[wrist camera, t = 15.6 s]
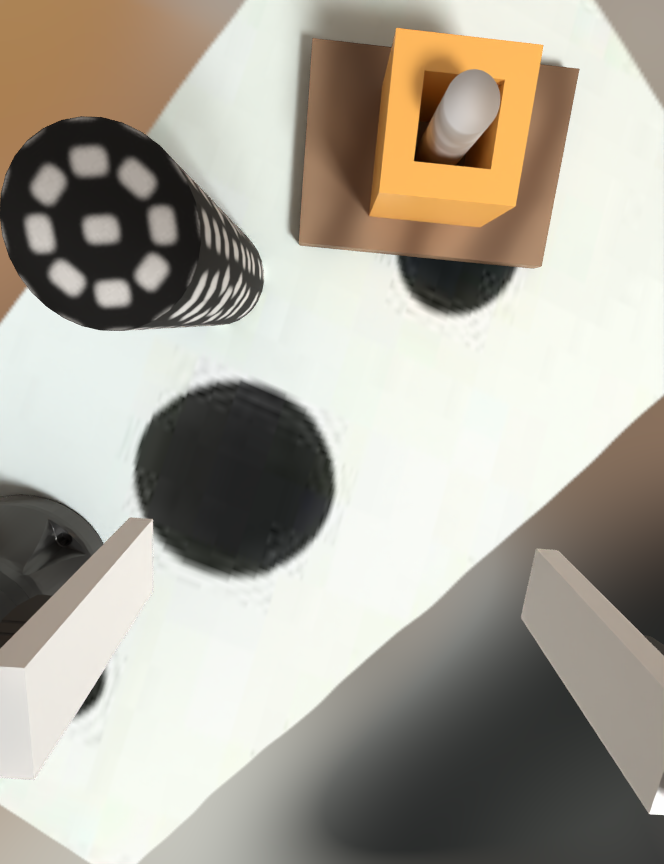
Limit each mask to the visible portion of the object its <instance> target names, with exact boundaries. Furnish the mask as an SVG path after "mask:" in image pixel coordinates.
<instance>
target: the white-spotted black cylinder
mask: <svg viewBox="0 0 664 864" xmlns="http://www.w3.org/2000/svg"><path fill="white" fill-rule="evenodd" d="M0 221H1V229H2V236H3V239H4V242H5V245H6V249H7V252H8V255H9V257H10V259H11V261H12V263H13V265H14V267H15V269H16V271H17V273H18V275H19V276H20V278H21V279H22V280H23V282H24V283H25V284H26V286H27V287H28V288H29V290H30V291H31V292H32V293H33V294H34V295H35V296H36V297H37V298H38V299H39V300H40V301H41V302H42V303H43V304H44V305H46V306H47V307H48V308H49V309H51V310H52V311H54V312H55V313H57V314H58V315H60V316H61V317H63V318H65V319H67V320H69V321H72V322H74V323H76V324H79V325H81V326H84V327H89V328H93V329H97V330H109V331H125V330H143V329H161V328H178V327H196V326H214V325H224V324H230V323H233V322H235V321H238V320H240V319H241V318H243V317H244V316H246V315H247V314H248V313H249V312H250V311H251V310H252V309H253V308H254V306H255V305H256V303H257V302H258V300H259V297H260V295H261V292H262V288H263V283H264V270H263V265H262V261H261V258H260V256H259V253H258V251H257V249H256V248H255V246H254V245H253V243H252V242H251V241H250V240H249V239H248V237H247V236H246V235H245V234H244V233H243V232H242V231H241V230H240V229H239V228H238V227H237V226H236V225H235V224H234V223H233V222H232V221H231V220H230V219H229V218H228V216H227V215H226V214H225V213H224V212H223V211H222V210H221V209H220V208H219V207H218V206H217V205H216V204H215V203H214V202H213V201H212V200H211V199H210V198H209V197H208V195H207V194H206V193H205V192H204V191H203V190H202V189H201V188H200V187H199V186H198V185H197V184H196V183H195V182H194V181H193V180H192V179H191V178H190V177H189V176H188V175H187V173H186V172H185V171H184V170H183V169H182V168H181V167H180V166H179V165H178V164H177V163H176V162H175V161H174V160H173V159H172V158H171V157H170V156H169V155H168V154H167V153H166V151H165V150H164V149H163V148H162V147H161V146H160V145H158V144H157V143H156V142H154V141H153V140H152V139H150V138H149V137H148V136H146V135H145V134H144V133H142V132H141V131H138V130H136V129H134V128H132V127H130V126H128V125H126V124H124V123H122V122H118V121H114V120H110V119H107V118H102V117H82V116H81V117H76V118H70V119H65V120H61V121H58V122H56V123H54V124H52V125H49V126H47V127H45V128H43V129H42V130H40V131H39V132H38V133H36V134H35V135H34V136H32V137H31V138H30V139H29V140H27V141H26V143H25V144H24V145H23V146H22V148H21V149H20V150H19V151H18V153H17V154H16V155H15V156H14V159H13V160H12V162H11V165H10V167H9V169H8V171H7V173H6V175H5V179H4V183H3V187H2V191H1V198H0Z"/></svg>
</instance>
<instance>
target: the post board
mask: <svg viewBox="0 0 664 864" xmlns="http://www.w3.org/2000/svg"><path fill="white" fill-rule="evenodd" d="M391 48H392V47H385V46H376V45H368V44H359V43H350V42H342V41H333V40H324V39H316V38H313V39H312V54H311V68H310V83H309V98H308V113H307V127H306V142H305V157H304V172H303V187H302V201H301V216H300V231H299V245H301V246H311V247H321V248H331V249H341V250H352V251H362V252H372V253H382V254H392V255H402V256H412V257H422V258H432V259H443V260H453V261H463V262H473V263H483V264H493V265H503V266H513V267H523V268H537V267H541V266H542V261H543V256H544V251H545V245H546V240H547V235H548V230H549V225H550V219H551V214H552V209H553V204H554V199H555V193H556V188H557V183H558V178H559V172H560V167H561V162H562V157H563V152H564V146H565V141H566V136H567V131H568V126H569V120H570V115H571V110H572V105H573V99H574V94H575V89H576V84H577V79H578V73H579V69H576V68H567V67H558V66H550V65H541V64H540V68H539V74H538V79H537V85H536V91H535V97H534V103H533V108H532V114H531V120H530V126H529V132H528V137H527V143H526V149H525V155H524V160H523V166H522V172H521V178H520V184H519V189H518V195H517V201H516V206H515V207H514V208H512V209H510V210H509V211H507V212H505V213H504V214H502V215H500V216H499V217H497V218H495V219H494V220H492V221H490V222H488V223H487V224H485V225H483V226H482V227H480V228H479V227H470V226H460V225H450V224H440V223H430V222H420V221H410V220H400V219H390V218H380V217H371V216H369V211H370V201H371V191H372V181H373V171H374V161H375V151H376V141H377V132H378V122H379V112H380V102H381V92H382V85H383V81H384V76H385V72H386V68H387V64H388V60H389V56H390V52H391ZM499 106H500V92H499V88H498V85H497V83H496V82H495V80H494V79H493V78H492V76H491V75H489V74H488V73H486V72H485V71H482V70H478V69H471V70H466V71H464V72H462V73H460V74H459V75H457V76H456V77H455V78H454V79H453V80H452V82H451V83H450V85H449V87H448V89H447V90H446V92H445V94H444V96H443V98H442V100H441V102H440V104H439V106H438V107H437V109H436V111H435V113H434V115H433V117H432V119H431V121H430V122H423V121H419V122H418V130H417V138H416V147H415V155H414V161H416V162H425V163H435V164H444V165H454V166H463V167H464V162H465V155H466V153H467V151H468V150H469V149H470V148H471V147H472V145H473V144H474V143H475V142H476V141H477V140H478V138H479V137H480V136H481V135H482V134H483V133H484V131H485V130H486V129H487V128H488V127H489V125H490V124H491V123H492V122H493V120H494V119H495V117H496V115H497V113H498V110H499Z"/></svg>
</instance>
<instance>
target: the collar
mask: <svg viewBox="0 0 664 864" xmlns="http://www.w3.org/2000/svg"><path fill="white" fill-rule="evenodd" d="M542 51H543V45H539V44H531V43H522V42H513V41H505V40H496V39H488V38H479V37H470V36H462V35H453V34H445V33H436V32H427V31H419V30H410V29H402V28H396V31H395V35H394V39H393V44H392V48H391V52H390V56H389V60H388V64H387V68H386V72H385V76H384V81H383V85H382V92H381V102H380V112H379V122H378V132H377V141H376V151H375V161H374V171H373V181H372V191H371V201H370V211H369V216H371V217H380V218H390V219H400V220H410V221H420V222H430V223H440V224H450V225H460V226H470V227H479V228H480V227H482V226H483V225H485V224H487V223H488V222H490V221H492V220H494V219H495V218H497V217H499V216H500V215H502V214H504V213H505V212H507V211H509V210H510V209H512V208H514V207H515V206H516V201H517V195H518V189H519V184H520V178H521V172H522V166H523V160H524V155H525V149H526V143H527V137H528V132H529V126H530V120H531V114H532V108H533V103H534V97H535V91H536V85H537V79H538V74H539V68H540V62H541V56H542ZM471 69H478V70H482V71H485V72H486V73H488V74H489V75H491V76H492V78H493V79H494V80H495V82H496V83H497V85H498V88H499V92H500V106H499V110H498V113H497V115H496V117H495V119H494V120H493V122H492V123H491V124H490V125H489V127H488V128H487V129H486V130H485V131H484V133H483V134H482V135H481V136H480V137H479V138H478V140H477V141H476V142H475V143H474V144H473V145H472V147H471V148H470V149H469V150H468V151H467V153H466V155H465V162H464V167H463V166H454V165H444V164H435V163H425V162H416V161H414V155H415V147H416V138H417V130H418V122H419V121H423V122H430V121H431V119H432V117H433V115H434V113H435V111H436V109H437V107H438V106H439V104H440V102H441V100H442V98H443V96H444V94H445V92H446V90H447V89H448V87H449V85H450V83H451V82H452V80H453V79H454V78H455V77H456V76H457V75H459V74H460V73H462V72H464V71H466V70H471Z"/></svg>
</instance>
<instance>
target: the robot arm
mask: <svg viewBox="0 0 664 864" xmlns="http://www.w3.org/2000/svg"><path fill="white" fill-rule="evenodd" d="M152 593H153V519H142V518H129V519H128V520H127V521H126V522H125V523H124V524H123V525H122V526H121V527H120V528H119V529H118V530H117V531H116V532H115V533H114V534H113V535H112V536H111V537H110V538H109V539H108V540H107V541H106V542H105V543H104V544H103V542H102V541H101V539H100V537H99V536H98V534H97V533H96V532H95V530H94V529H93V528H92V527H91V526H90V525H89V524H88V523H87V522H86V521H85V520H84V519H83V518H82V517H81V516H79V515H78V514H77V513H75V512H74V511H72V510H71V509H69V508H67V507H66V506H64V505H62V504H59V503H57V502H55V501H52V500H49V499H46V498H42V497H37V496H29V495H13V496H6V497H1V498H0V778H11V779H29V780H35V778H36V777H37V775H38V773H39V772H40V770H41V769H42V767H43V765H44V764H45V762H46V761H47V759H48V758H49V756H50V754H51V753H52V751H53V750H54V748H55V746H56V745H57V743H58V742H59V740H60V739H61V737H62V735H63V734H64V732H65V731H66V729H67V727H68V726H69V724H70V723H71V721H72V720H73V718H74V716H75V715H76V713H77V712H78V710H79V708H80V707H81V705H82V704H83V702H84V701H85V699H86V697H87V696H88V694H89V693H90V691H91V689H92V688H93V686H94V685H95V683H96V682H97V680H98V678H99V677H100V675H101V674H102V672H103V671H104V669H105V667H106V666H107V664H108V663H109V661H110V659H111V658H112V656H113V655H114V653H115V652H116V650H117V648H118V647H119V645H120V644H121V642H122V640H123V639H124V637H125V636H126V634H127V633H128V631H129V629H130V628H131V626H132V625H133V623H134V621H135V620H136V618H137V617H138V615H139V614H140V612H141V610H142V609H143V607H144V606H145V604H146V602H147V601H148V599H149V598H150V596H151V595H152ZM521 619H522V620H523V622H524V623H525V625H526V626H527V628H528V629H529V631H530V632H531V634H532V635H533V637H534V639H535V640H536V642H537V643H538V644H539V646H540V648H541V649H542V651H543V652H544V654H545V655H546V657H547V658H548V660H549V662H550V663H551V664H552V666H553V667H554V669H555V671H556V672H557V674H558V675H559V677H560V678H561V680H562V681H563V683H564V684H565V686H566V687H567V689H568V690H569V692H570V694H571V695H572V697H573V698H574V700H575V701H576V703H577V704H578V706H579V707H580V709H581V710H582V712H583V714H584V715H585V717H586V718H587V720H588V721H589V723H590V724H591V726H592V727H593V729H594V730H595V732H596V733H597V735H598V736H599V738H600V740H601V741H602V743H603V744H604V746H605V747H606V749H607V750H608V752H609V753H610V755H611V756H612V758H613V759H614V761H615V762H616V764H617V765H618V767H619V769H620V770H621V772H622V773H623V775H624V776H625V778H626V779H627V781H628V782H629V784H630V785H631V787H632V788H633V790H634V791H635V793H636V795H637V796H638V798H639V799H640V801H641V802H642V804H643V805H644V807H645V808H646V810H647V811H648V813H649V814H659V815H664V645H663V644H661V643H660V642H658V641H657V640H655V639H654V638H652V637H650V636H643V635H642V634H641V633H640V632H639V631H638V630H637V629H636V628H635V627H634V626H633V625H632V624H631V623H630V622H629V621H628V620H627V619H626V618H625V617H624V616H623V615H622V614H621V613H620V612H619V611H618V610H617V609H616V608H615V607H614V606H613V605H612V604H611V603H610V602H609V601H608V600H607V599H606V598H605V597H604V596H603V595H602V594H601V593H600V592H599V591H598V590H597V589H596V588H595V587H594V586H593V585H592V584H591V583H590V582H589V581H588V580H587V579H586V578H585V577H584V576H583V575H582V574H581V573H580V572H579V571H578V570H577V569H576V568H575V567H574V566H573V565H572V564H571V563H570V562H569V561H568V560H567V559H566V558H565V557H564V556H563V555H562V554H561V553H560V552H559V551H558V550H547V549H536V551H535V556H534V560H533V565H532V569H531V574H530V578H529V583H528V587H527V592H526V596H525V602H524V606H523V611H522V615H521Z"/></svg>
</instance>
